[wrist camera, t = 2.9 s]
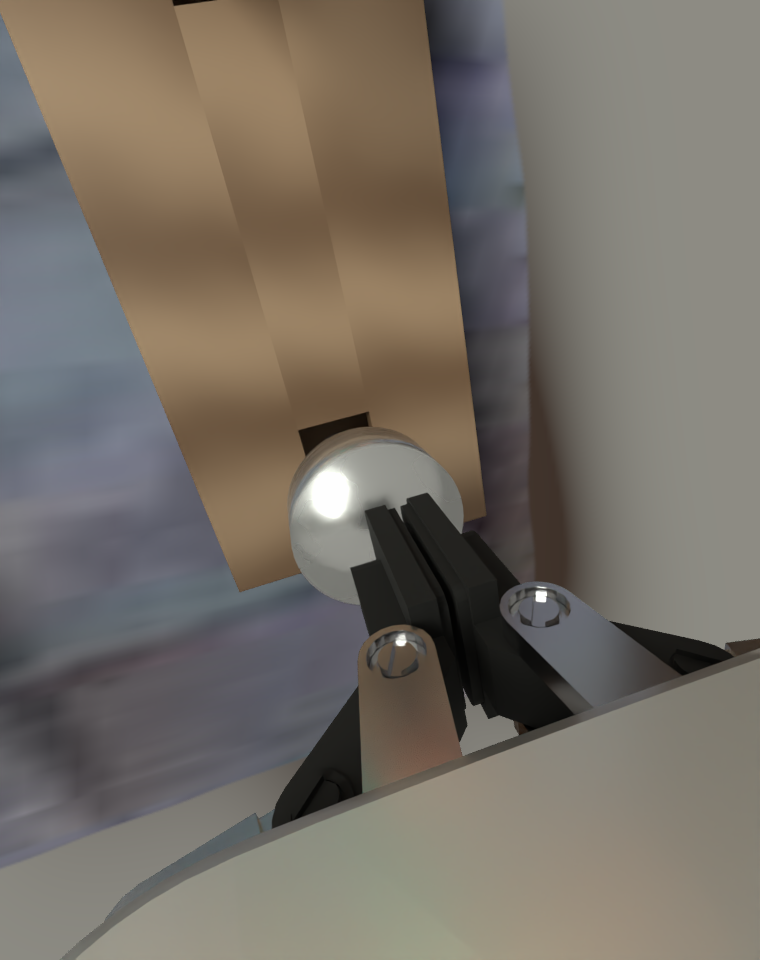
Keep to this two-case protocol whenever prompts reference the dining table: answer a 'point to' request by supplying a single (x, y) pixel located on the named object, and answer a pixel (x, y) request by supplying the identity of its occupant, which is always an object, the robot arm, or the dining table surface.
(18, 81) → the dining table surface
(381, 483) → the silver oval piece
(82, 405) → the dining table surface
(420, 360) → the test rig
